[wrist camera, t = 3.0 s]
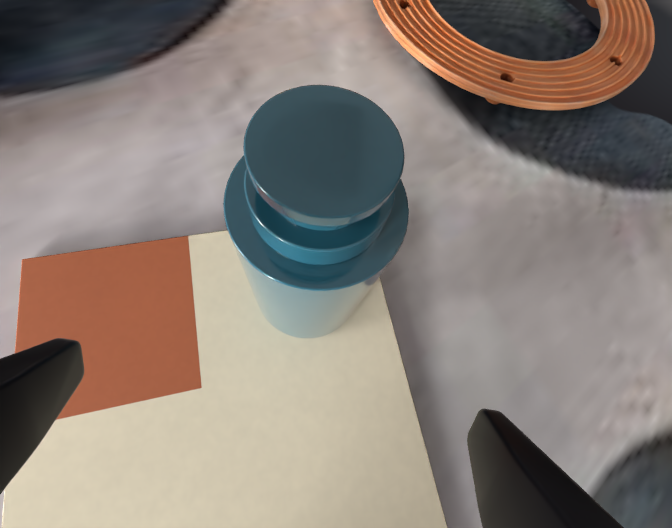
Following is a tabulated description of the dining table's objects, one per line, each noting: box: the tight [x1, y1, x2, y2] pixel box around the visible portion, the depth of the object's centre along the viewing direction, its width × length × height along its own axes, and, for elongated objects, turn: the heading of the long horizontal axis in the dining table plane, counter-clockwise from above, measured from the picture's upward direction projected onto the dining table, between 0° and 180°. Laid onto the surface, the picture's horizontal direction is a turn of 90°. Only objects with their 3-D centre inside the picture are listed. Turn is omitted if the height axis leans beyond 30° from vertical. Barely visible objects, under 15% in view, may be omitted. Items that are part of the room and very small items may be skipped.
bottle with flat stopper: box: [223, 85, 409, 338], centre depth 15 cm, size 6×6×13 cm
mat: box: [2, 230, 447, 528], centre depth 18 cm, size 20×20×1 cm
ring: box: [373, 0, 655, 110], centre depth 31 cm, size 25×25×2 cm
